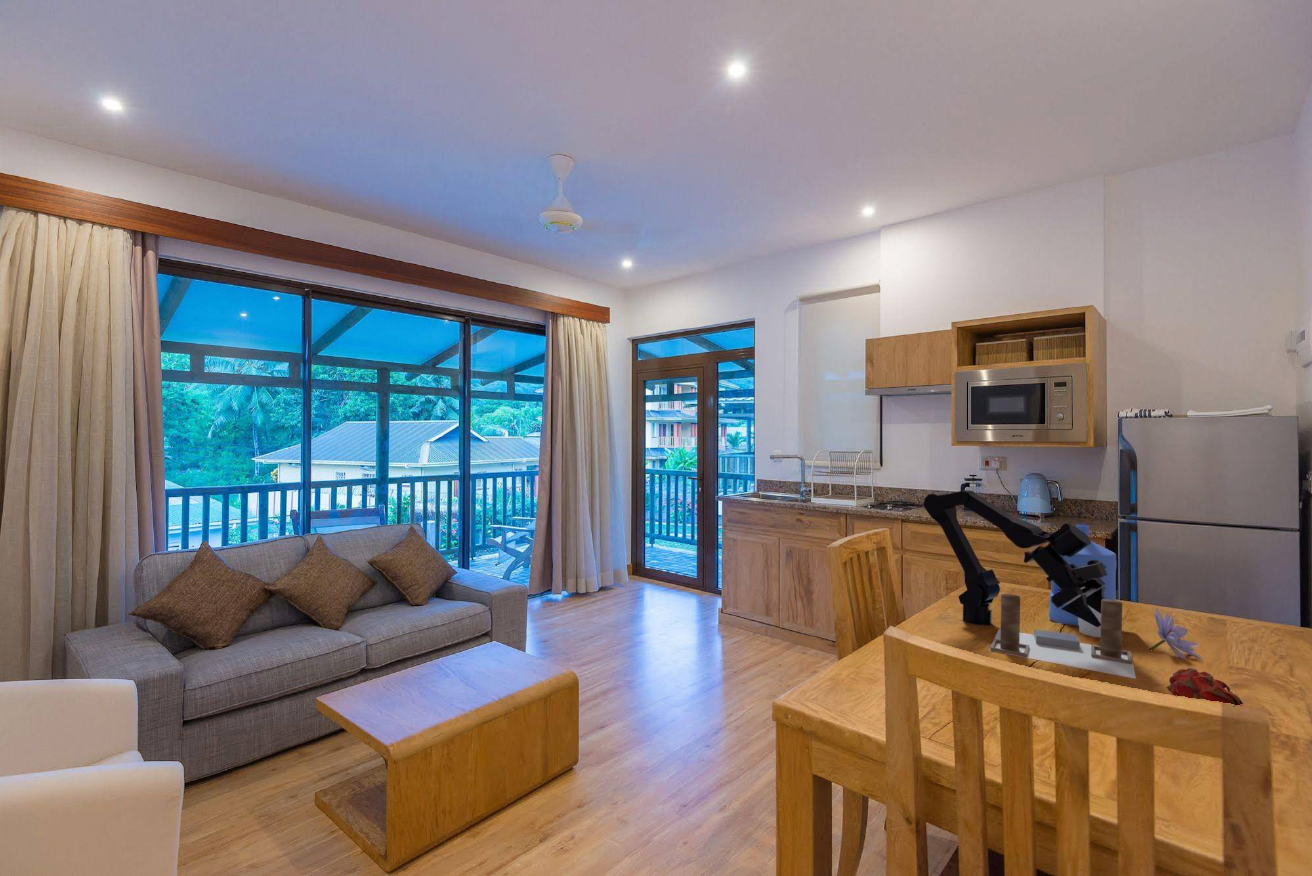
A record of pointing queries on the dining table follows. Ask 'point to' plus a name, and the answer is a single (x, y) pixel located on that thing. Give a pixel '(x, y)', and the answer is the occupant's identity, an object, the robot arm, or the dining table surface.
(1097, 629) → the white cup
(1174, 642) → the water lily
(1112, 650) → the pin
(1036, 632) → the cover
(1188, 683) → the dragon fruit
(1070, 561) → the water jug
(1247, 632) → the dining table surface
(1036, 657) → the board
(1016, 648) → the pin
